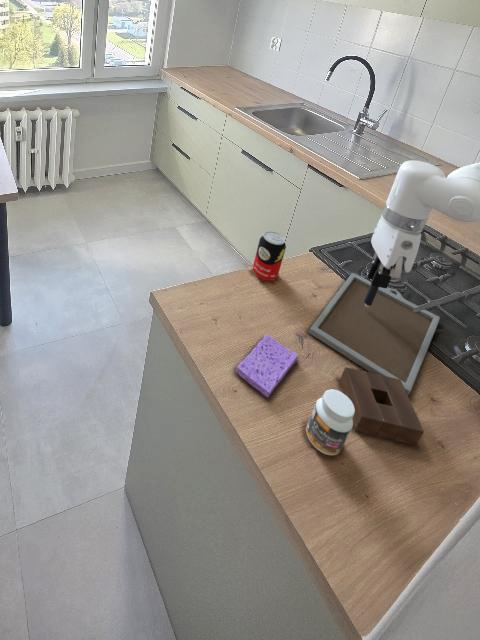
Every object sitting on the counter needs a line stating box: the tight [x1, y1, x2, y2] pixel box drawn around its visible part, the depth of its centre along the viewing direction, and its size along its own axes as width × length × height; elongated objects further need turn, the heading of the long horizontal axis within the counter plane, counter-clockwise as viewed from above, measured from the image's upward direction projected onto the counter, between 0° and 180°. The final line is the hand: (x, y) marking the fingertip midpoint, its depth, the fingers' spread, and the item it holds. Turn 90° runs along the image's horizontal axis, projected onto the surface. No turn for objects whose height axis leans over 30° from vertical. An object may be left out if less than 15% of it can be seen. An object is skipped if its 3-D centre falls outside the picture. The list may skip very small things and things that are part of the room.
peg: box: [364, 262, 387, 307], centre depth 97 cm, size 2×2×13 cm
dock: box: [339, 366, 425, 446], centre depth 78 cm, size 10×10×4 cm
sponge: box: [235, 333, 299, 398], centre depth 85 cm, size 7×13×2 cm, turn 132°
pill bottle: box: [305, 389, 355, 456], centre depth 71 cm, size 6×6×10 cm
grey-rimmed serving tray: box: [308, 272, 441, 396], centre depth 97 cm, size 19×2×30 cm
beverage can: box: [252, 231, 287, 281], centre depth 108 cm, size 6×6×12 cm
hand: (376, 282), depth 96 cm, fingers closed on peg, 1 cm apart
